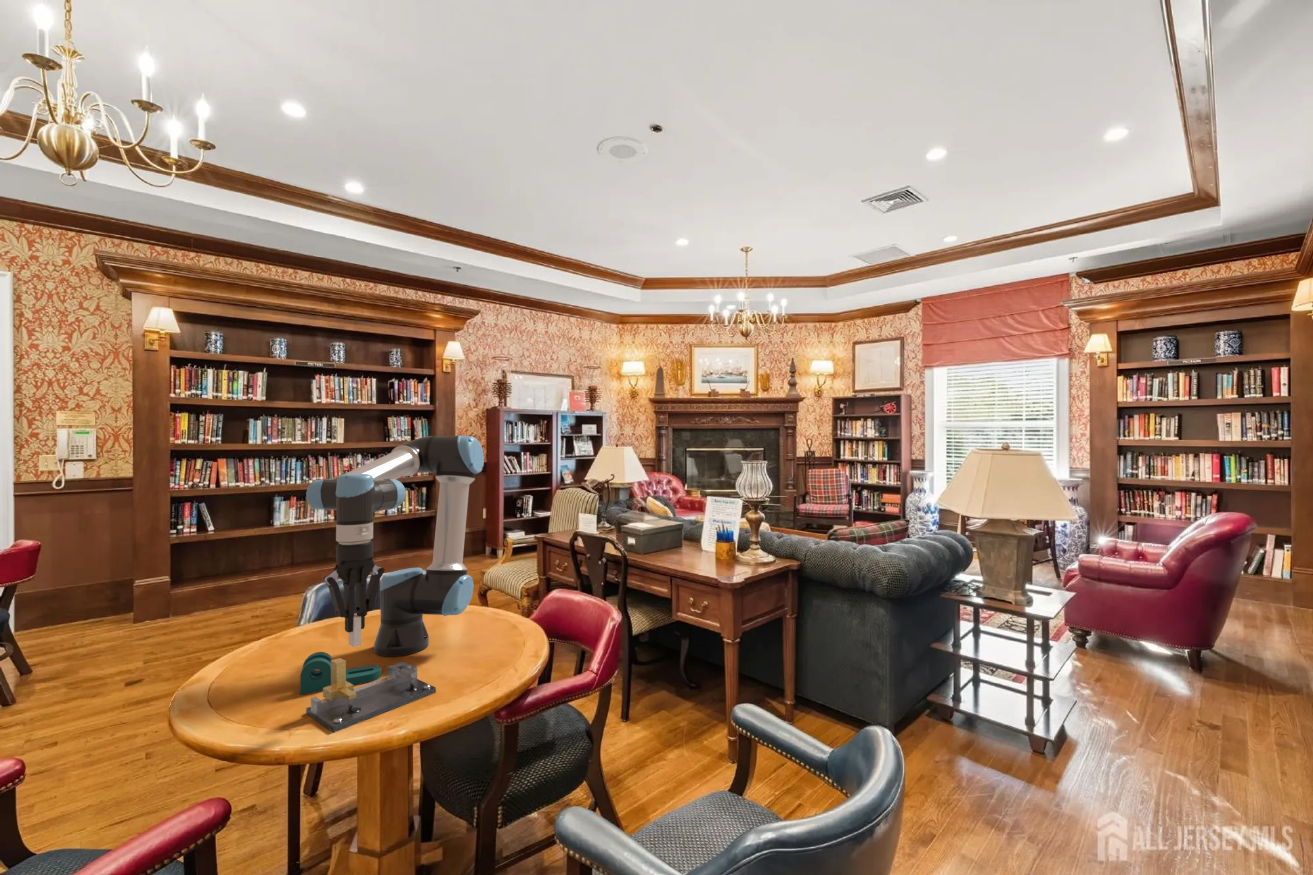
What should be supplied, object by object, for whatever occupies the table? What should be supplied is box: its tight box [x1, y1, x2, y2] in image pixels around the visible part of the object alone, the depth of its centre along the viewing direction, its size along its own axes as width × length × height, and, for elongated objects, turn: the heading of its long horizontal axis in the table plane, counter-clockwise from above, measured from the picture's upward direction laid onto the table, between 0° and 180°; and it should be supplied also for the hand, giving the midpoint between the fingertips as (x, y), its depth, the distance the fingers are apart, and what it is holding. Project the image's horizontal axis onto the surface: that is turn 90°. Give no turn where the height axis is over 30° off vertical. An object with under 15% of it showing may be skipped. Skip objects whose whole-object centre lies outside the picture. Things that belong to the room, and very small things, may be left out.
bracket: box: [299, 651, 382, 695], centre depth 147 cm, size 18×7×8 cm, turn 117°
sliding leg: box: [322, 657, 356, 711], centre depth 131 cm, size 9×5×10 cm, turn 53°
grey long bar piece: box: [310, 661, 418, 715], centre depth 136 cm, size 9×24×4 cm, turn 143°
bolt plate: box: [305, 678, 437, 733], centre depth 136 cm, size 14×24×2 cm, turn 143°
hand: (354, 644), depth 130 cm, fingers closed
